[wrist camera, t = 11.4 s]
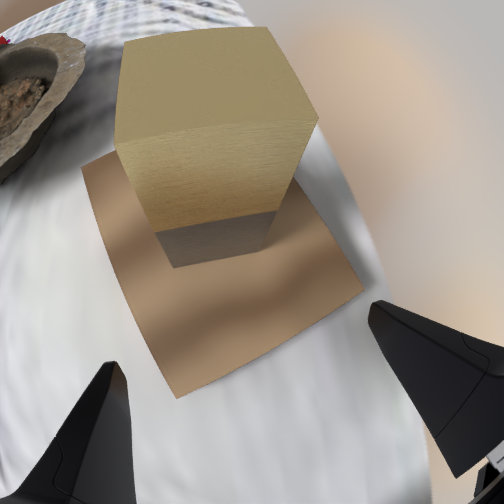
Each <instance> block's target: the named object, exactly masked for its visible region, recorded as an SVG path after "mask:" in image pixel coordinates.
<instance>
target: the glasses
mask: <svg viewBox="0 0 504 504" xmlns="http://www.w3.org/2000/svg"><path fill="white" fill-rule="evenodd" d="M9 42H10V39H8V40H7V41H6V39H5V38H4V37H3V36H1V37H0V45H1V44H8V43H9Z"/></svg>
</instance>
